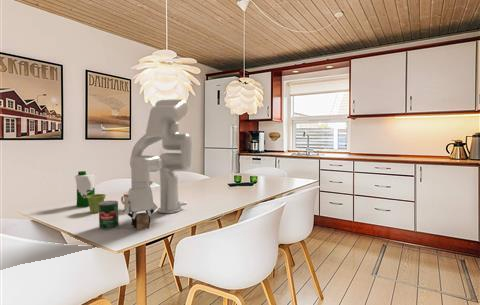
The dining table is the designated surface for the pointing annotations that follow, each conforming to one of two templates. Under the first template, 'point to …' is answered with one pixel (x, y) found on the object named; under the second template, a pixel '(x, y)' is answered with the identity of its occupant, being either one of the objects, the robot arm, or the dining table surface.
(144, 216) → the walnut block
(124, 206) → the teacup with lid
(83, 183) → the milk carton
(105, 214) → the canned tomato
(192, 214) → the dining table surface
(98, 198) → the plant pot
